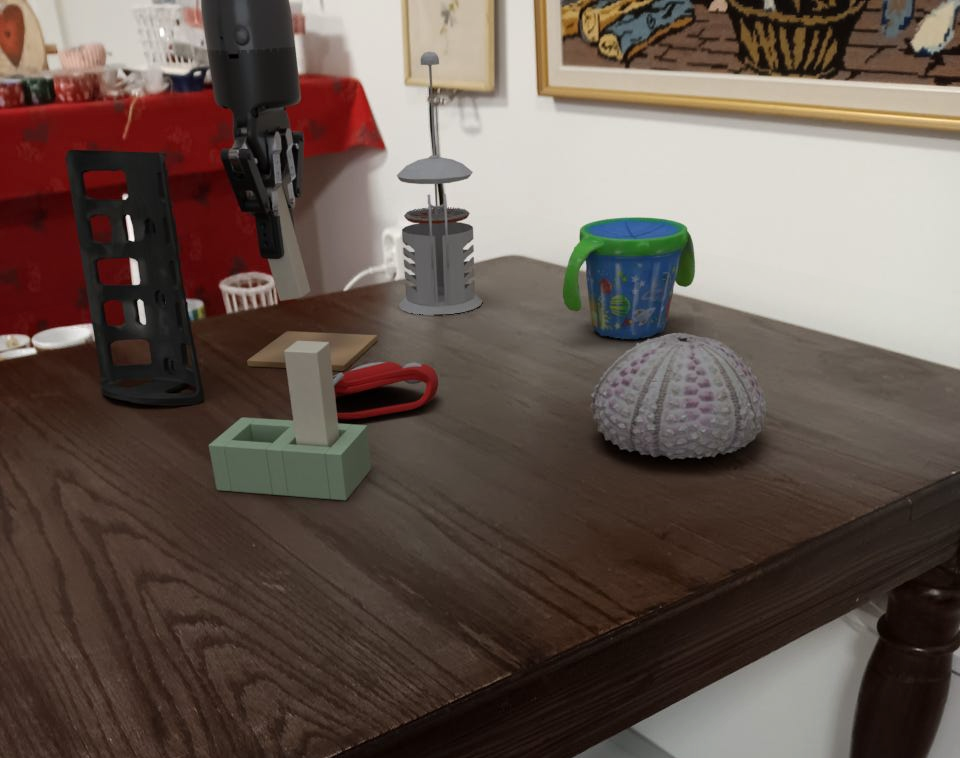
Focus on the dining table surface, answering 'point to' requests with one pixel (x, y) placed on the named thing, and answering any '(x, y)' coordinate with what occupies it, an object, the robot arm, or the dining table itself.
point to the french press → (437, 237)
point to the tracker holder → (382, 376)
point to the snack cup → (630, 273)
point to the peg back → (288, 258)
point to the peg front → (312, 393)
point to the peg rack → (288, 460)
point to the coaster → (341, 345)
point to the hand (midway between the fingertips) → (278, 253)
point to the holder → (156, 272)
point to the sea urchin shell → (679, 399)
